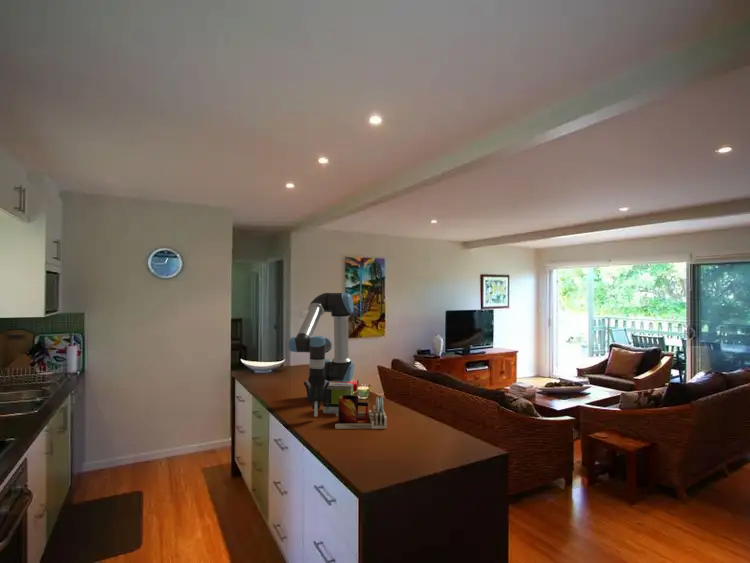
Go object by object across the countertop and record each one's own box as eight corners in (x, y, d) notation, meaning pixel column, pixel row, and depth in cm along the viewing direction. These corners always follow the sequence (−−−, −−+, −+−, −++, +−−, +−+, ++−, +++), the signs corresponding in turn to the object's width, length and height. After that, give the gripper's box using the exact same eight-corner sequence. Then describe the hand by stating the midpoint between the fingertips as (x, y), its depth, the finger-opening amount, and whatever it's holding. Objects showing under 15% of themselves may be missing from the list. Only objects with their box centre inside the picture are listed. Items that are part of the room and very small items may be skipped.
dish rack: (335, 416, 217) (336, 392, 218) (382, 416, 219) (382, 392, 219) (335, 428, 195) (335, 402, 196) (386, 428, 197) (387, 402, 197)
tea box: (353, 410, 230) (354, 382, 231) (350, 414, 220) (351, 386, 221) (326, 408, 232) (327, 381, 233) (322, 413, 222) (323, 385, 223)
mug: (368, 423, 204) (368, 398, 205) (340, 425, 201) (340, 400, 201) (363, 418, 214) (363, 394, 214) (336, 419, 210) (337, 395, 211)
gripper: (303, 368, 204) (301, 417, 203) (330, 368, 205) (328, 417, 204) (304, 366, 212) (303, 413, 211) (330, 366, 213) (329, 413, 212)
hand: (315, 415), depth 208 cm, fingers closed
